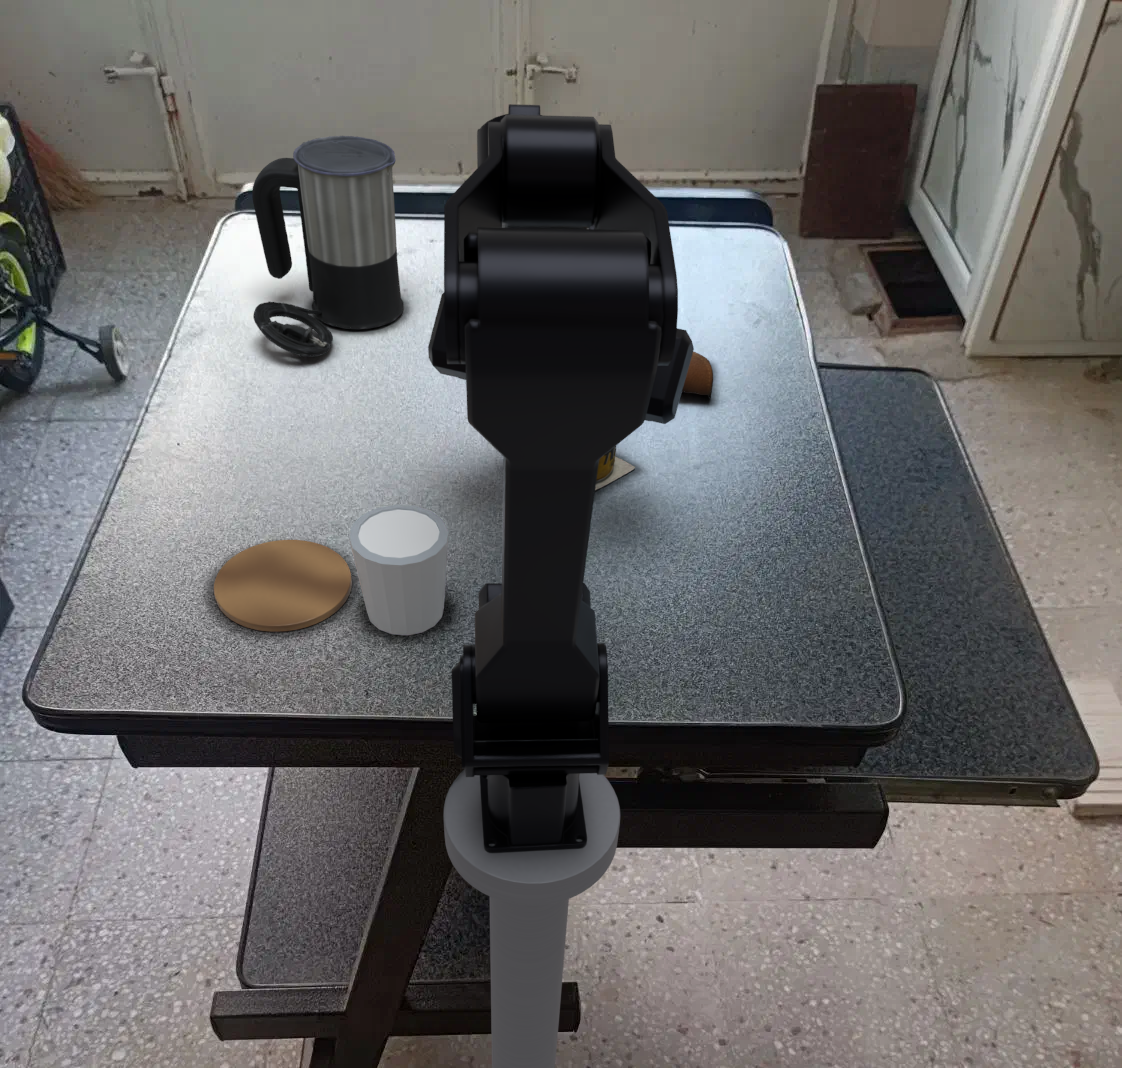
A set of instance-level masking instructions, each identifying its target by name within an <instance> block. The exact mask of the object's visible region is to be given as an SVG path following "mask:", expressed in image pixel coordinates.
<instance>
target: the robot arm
mask: <svg viewBox="0 0 1122 1068" xmlns="http://www.w3.org/2000/svg"><path fill="white" fill-rule="evenodd" d="M507 112H508V113H505V114H502V115H498V116H494V118H492V119H490V120H488V121H486V122H485V123H483V124H482V125H481V126H480V128H478V129H477V131H476V152H477V153H476V158H477V159H476V160H477V161H476V165H477V168H476V169H475V170H474V171H473V172H472V173H471V174H470V175H469V177H468V178H466V179H465V181H464V182H463V183H462V184H461V185H460V186H459V187H458V188H457V189H456V190H455V191H454V192H453V193H452V194H451V196H450V197H449V198H448V199H447V200H446V202H445V204H444V207H443V208H444V209H443V210H444V213H443V217H444V219H443V223H444V224H443V292H442V293H441V296H440V301H439V304H438V308H437V311H436V315H435V316H436V317H435V320H434V324H433V326H432V331H431V335H430V338H429V342H428V346H427V350H428V351H427V353H428V359H429V361H430V363H431V365H432V366H433V368H434V369H435V370H436V371H437V372H438V373H439V374H441V375H445V376H450V377H452V378H457V379H459V380H463V381H465V389H466V390H465V391H466V414H467V415H466V417H467V418H466V419H467V422H468V423H469V425H470V426H471V427H472V428H473V429H474V430H475V431H476V432H478V434H479V435H481V437H482V438H483V439H484V440H486V441H487V442H488V443H489V444H490V445H491V446H492V447H493V448H494V449H495V450H496V451H497V452H498V453H499V454H500V455H501V456H502V528H501V534H502V535H501V541H502V542H501V582H485V583H484V584H483V586H482V587H481V588H480V590H479V591H478V609H477V610H476V611H475V612H474V644H471V643H470V644H469V643H466V644H465V643H464V644H462V654H460V655H459V661H458V662H457V664H456V665H455V666H454V667H453V668H452V669H451V702H452V703H451V705H452V739H453V740H452V741H453V754H454V755H456V756H457V757H458V758H460V759H461V769H463V770H464V769H465V774H466V777H474V775H480V790H481V807H482V824H483V841H484V849H485V851H486V852H488V853H507V852H526V851H545V850H565V849H581V848H584V847H585V846H586V845H587V833H586V825H585V818H584V811H583V804H582V796H581V789H580V782H579V775H580V774H583V773H597V775H604V776H606V775H607V772H608V768H609V763H610V741H609V740H610V735H609V734H610V730H609V729H610V727H609V720H610V719H609V660H608V659H609V658H608V649H607V644H606V643H605V642H598V637H597V621H596V611H595V610H594V609H593V608H592V602H591V591H590V589H589V588H588V586H587V584H586V583H585V582H584V580H585V572H586V565H587V555H588V548H589V541H590V534H591V527H592V518H593V509H594V502H595V493H596V490H595V487H596V479H597V471H598V464H599V459H600V458H601V457H602V456H604V455H605V454H606V453H607V452H609V451H610V450H611V449H612V448H614V447H615V446H616V447H617V445H619V444H620V443H621V442H622V441H624V440H625V439H626V438H628V437H629V436H630V435H632V434H633V433H634V432H636V431H637V429H639V428H640V427H641V426H643V424H644V423H645V421H646V422H653V423H658V424H663V425H666V424H667V423H669V422H671V421H673V420H674V419H675V418H676V414H677V412H678V407H679V404H680V400H681V396H682V393H683V392H682V390H683V386H684V382H685V379H686V375H687V372H688V368H689V364H690V361H691V357H692V354H693V351H694V350H695V348H694V344H693V341H692V338H691V337H690V335H689V332H688V331H687V330H686V329H682V328H678V318H679V317H678V314H679V289H678V287H679V286H678V277H677V275H678V274H677V270H676V262H675V254H674V248H673V241H672V236H671V228H670V222H669V216H668V210H667V208H666V207H665V205H664V204H663V203H662V201H660V200H659V199H658V197H656V196H655V195H654V194H653V193H652V192H651V191H650V189H648V188H647V187H646V186H645V185H644V184H643V183H642V182H641V181H640V180H639V179H638V178H637V177H635V175H633V174H632V173H631V171H629V170H628V169H627V168H626V167H625V165H623V164H622V163H621V162H620V161H619V160H618V159H617V158H616V150H615V141H614V134H613V128H612V124H605V123H604V124H603V123H601V124H600V123H599V121H598V120H597V119H596V118H595V117H594V116H585V115H584V116H581V115H542V114H541V105H540V104H514V103H511V104H508V109H507ZM474 705H475V707H474ZM474 708H476V709H475V713H476V714H475V713H474ZM485 777H488V779H485ZM577 839H581V840H582V841H581V842H578V841H576V840H577ZM489 844H495V845H494V846H489Z"/></svg>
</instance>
